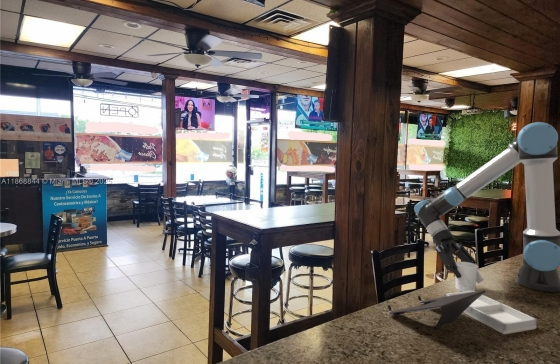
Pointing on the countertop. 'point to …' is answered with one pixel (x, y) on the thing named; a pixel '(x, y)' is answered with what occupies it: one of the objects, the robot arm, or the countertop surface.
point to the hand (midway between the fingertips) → (473, 283)
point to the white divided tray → (498, 315)
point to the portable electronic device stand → (444, 306)
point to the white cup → (467, 276)
